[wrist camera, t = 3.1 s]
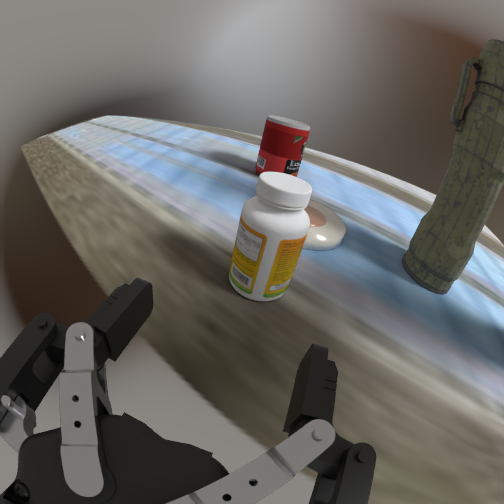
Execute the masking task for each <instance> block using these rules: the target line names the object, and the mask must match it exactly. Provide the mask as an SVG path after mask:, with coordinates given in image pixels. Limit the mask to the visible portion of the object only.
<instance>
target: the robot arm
mask: <svg viewBox="0 0 504 504" xmlns="http://www.w3.org/2000/svg"><path fill="white" fill-rule="evenodd" d="M152 309H153V290H152V284H151V283H149V282H147V281H145V280H142V279H140V278H136V279H135V280H134V281H133V282H132V283H131V284H130V285H128V284H124V285H122V286H120V287H118V288H116V289H115V290H114V291H113V293H112V294H111V295H110V296H109V297H108V298H107V299H106V300H105V302H103V303H102V304H101V305H100V306H99V307H98V308H97V310H96V311H95V312H94V313H93V314H92V315H91V316H90V317H89V318H88V319H87V320H86V321H85V322H84V323H83V322H78V323H75V324H73V325H71V326H68V325H65V324H61V323H57V322H55V320H54V317H53V316H52V315H51V314H49V313H40V314H38V315H37V316H35V317H34V318H33V319H32V320H31V322H30V323H29V324H28V325H27V326H26V327H25V328H24V330H23V331H22V332H21V333H20V334H19V336H18V337H17V338H16V339H15V341H14V342H13V343H12V344H11V345H10V347H9V348H8V349H7V351H6V352H5V353H4V354H3V356H2V357H1V358H0V436H1V437H2V438H3V439H4V440H5V441H6V442H7V443H8V444H9V445H10V446H11V447H12V448H13V449H14V450H16V451H17V452H18V453H19V459H18V460H19V462H18V472H17V476H16V479H15V481H14V482H13V483H12V484H11V485H10V486H9V487H8V488H7V489H6V490H5V491H4V492H3V493H2V494H1V495H0V504H255V503H257V502H258V501H260V500H262V499H263V498H265V497H266V496H268V495H269V494H271V493H272V492H274V491H275V490H277V489H278V488H280V487H281V486H283V485H284V484H285V483H287V482H288V481H290V480H291V479H292V478H293V477H294V476H295V474H297V473H298V472H299V471H300V470H302V469H303V468H304V467H305V466H307V467H309V468H311V469H312V470H314V471H316V472H318V475H317V479H316V482H315V486H314V490H313V492H312V496H311V499H310V502H309V504H367V503H368V499H369V495H370V490H371V485H372V480H373V474H374V469H375V462H376V453H375V450H374V449H373V447H372V446H371V445H369V444H367V443H357V444H353V443H351V442H349V441H347V440H345V439H343V438H342V437H340V436H339V435H338V434H337V433H336V432H335V430H334V428H333V424H332V418H333V411H334V403H335V395H336V392H335V391H336V386H337V384H336V383H337V376H338V371H337V368H336V365H335V362H333V361H330V360H327V358H328V348H326V347H323V346H320V345H316V344H312V345H311V346H310V348H309V350H308V351H307V353H306V354H305V356H304V358H303V359H302V361H301V363H300V365H299V368H298V371H297V375H296V379H295V384H294V388H293V393H292V397H291V401H290V405H289V409H288V413H287V417H286V421H285V425H284V429H283V432H287V433H289V436H288V438H287V439H286V440H284V441H283V442H281V443H280V444H279V445H277V446H276V447H274V448H272V449H271V450H269V451H267V452H266V453H264V454H263V455H261V456H259V457H258V458H256V459H255V460H253V461H251V462H250V463H248V464H246V465H245V466H243V467H241V468H240V469H238V470H236V471H234V472H232V473H231V474H229V473H228V471H227V470H226V469H225V467H224V466H223V465H221V463H220V462H218V461H217V460H216V459H214V458H213V457H211V456H212V454H213V453H211V452H208V451H205V450H203V449H200V448H198V447H195V446H193V445H190V444H185V443H180V442H174V441H170V440H165V439H163V438H162V437H160V436H159V435H158V434H156V433H155V432H154V431H153V430H152V429H151V428H149V427H148V426H147V425H146V424H145V423H143V422H141V421H139V420H137V419H135V418H133V417H132V416H130V415H128V414H126V413H125V412H124V414H123V415H122V416H119V415H113V414H112V409H111V405H110V401H109V398H108V390H107V381H106V368H105V362H106V360H107V359H108V358H110V359H112V360H113V361H116V360H117V358H118V357H119V356H120V354H121V353H122V351H123V350H124V349H125V347H126V346H127V345H128V343H129V342H130V341H131V339H132V338H133V337H134V335H135V334H136V333H137V331H138V330H139V329H140V327H141V326H142V325H143V323H144V322H145V321H146V320H147V318H148V317H149V316H150V314H151V312H152ZM63 368H64V371H62V369H63ZM59 374H60V376H59V400H60V422H61V427H60V428H57V429H53V430H50V431H45V432H41V433H37V434H33V428H35V427H36V416H35V410H36V409H37V407H38V406H39V404H40V403H41V401H42V399H43V398H44V396H45V395H46V393H47V392H48V390H49V389H50V387H51V386H52V384H53V382H54V381H55V380H56V378H57V376H58V375H59Z"/></svg>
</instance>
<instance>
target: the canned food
mask: <svg viewBox="0 0 504 504" xmlns="http://www.w3.org/2000/svg"><path fill="white" fill-rule="evenodd" d="M309 131H310V126H308V125H306V124H304V123H301V122H298V121H294V120H291V119H288V118H283V117H278V116H271V115H270V116H268V117H267V120H266V124H265V128H264V132H263V136H262V141H261V145H260V150H259V154H258V159H257V163H256V172H257V174H258V175H259V176H260V174H261V173H263V172H280V173H285V174H289V175H292V176H295V177H297V174H298V170H299V167H300V163H301V160H302V157H303V153H304V150H305V146H306V143H307V139H308V135H309Z"/></svg>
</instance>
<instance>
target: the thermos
mask: <svg viewBox="0 0 504 504" xmlns="http://www.w3.org/2000/svg"><path fill="white" fill-rule="evenodd" d="M472 65H473V66H474V69H476V70H477V75H476V80H475V85H476V87H475V91H474V92H473V93H472V97H471V100H470V102H469V103H468V105H467V106H466V107H465V109H464V110H463V114H462V117H461V120H458V119H459V117H460V113H461V111H462V107H463V103H464V99H465V95H466V91H467V87H468V83H469V78H470V73H471V68H472ZM457 120H458V121H457ZM450 123H451V124H452V125H454V126H455V127H456V131H457V134H456V137H455V140H454V143H453V156H452V159H451V161H450V164H449V167H448V170H447V172H446V174H445V177H444V179H443V182H442V185H441V187H440V189H439V191H438V194H437V196H436V198H435V201H434V203H433V205H432V207H431V209H430V211H429V212H428V213H427V214H426V215H425V216H424V217H423V218H422V219H421V222H420V224H419V226H418V228H417V230H416V232H415V234H414V236H413V238H412V240H411V241H410V245H409V249H408V250H407V252H406V254H405V255H404V257H403V259H402V263H403V266H404V268H405V270H406V271H407V273H408V274H409V275H410V276H411V277H412V278H413V279H414V280H415V281H416V282H417V283H418V284H420V285H421V286H422V287H424V288H426V289H427V290H429V291H431V292H434V293H437V294H446V293H447V292H448V291H449V289H450V288H451V285H452V284H453V282H454V281H455V280H456V279H458V277H459V276H460V274H461V273H462V271H463V270H464V268H465V266H466V265H467V263H468V261H469V260H470V258H471V256H472V255H473V252H474V247H475V242H476V240H477V238H478V236H479V234H480V232H481V231H482V229H483V227H484V225H485V223H486V221H487V219H488V216H489V214H490V212H491V210H492V208H493V206H494V204H495V201H496V199H497V197H498V194H499V192H500V190H501V187H502V185H503V184H504V42H503V41H499V40H489V41H488V42H487V44H486V45H485V47H484V48H483V50H482V52H481V54H480V59H479V60H478V59H477V58H475V57H473V58H471V59H470V60H468V61H466V62H464V63H463V65H462V70H461V75H460V79H459V83H458V88H457V92H456V96H455V99H454V103H453V107H452V112H451V116H450Z"/></svg>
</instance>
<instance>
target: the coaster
mask: <svg viewBox="0 0 504 504" xmlns="http://www.w3.org/2000/svg"><path fill="white" fill-rule="evenodd" d="M304 210H305V211H306V213H307V214H308V216H309V219H310V227H309V230H308V234H307V237H306V239H305V242H304V245H303V248H304V249H309V250H318V251H323V250H331V249H334V248H336V247H338V246H339V245H340V244H341V242H342V240H343V237H344V235H345V233H346V226H345V224H344V222H343V220H342V219H341V218H340V217H339V216H338V215H337V214H336V213H335V212H333V211H332V210H330V209H329V208H327V207H325V206H324V205H322V204H320V203H318V202H315V201H313V200H309V203H308V205H307V207H306V208H305V209H304Z"/></svg>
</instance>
